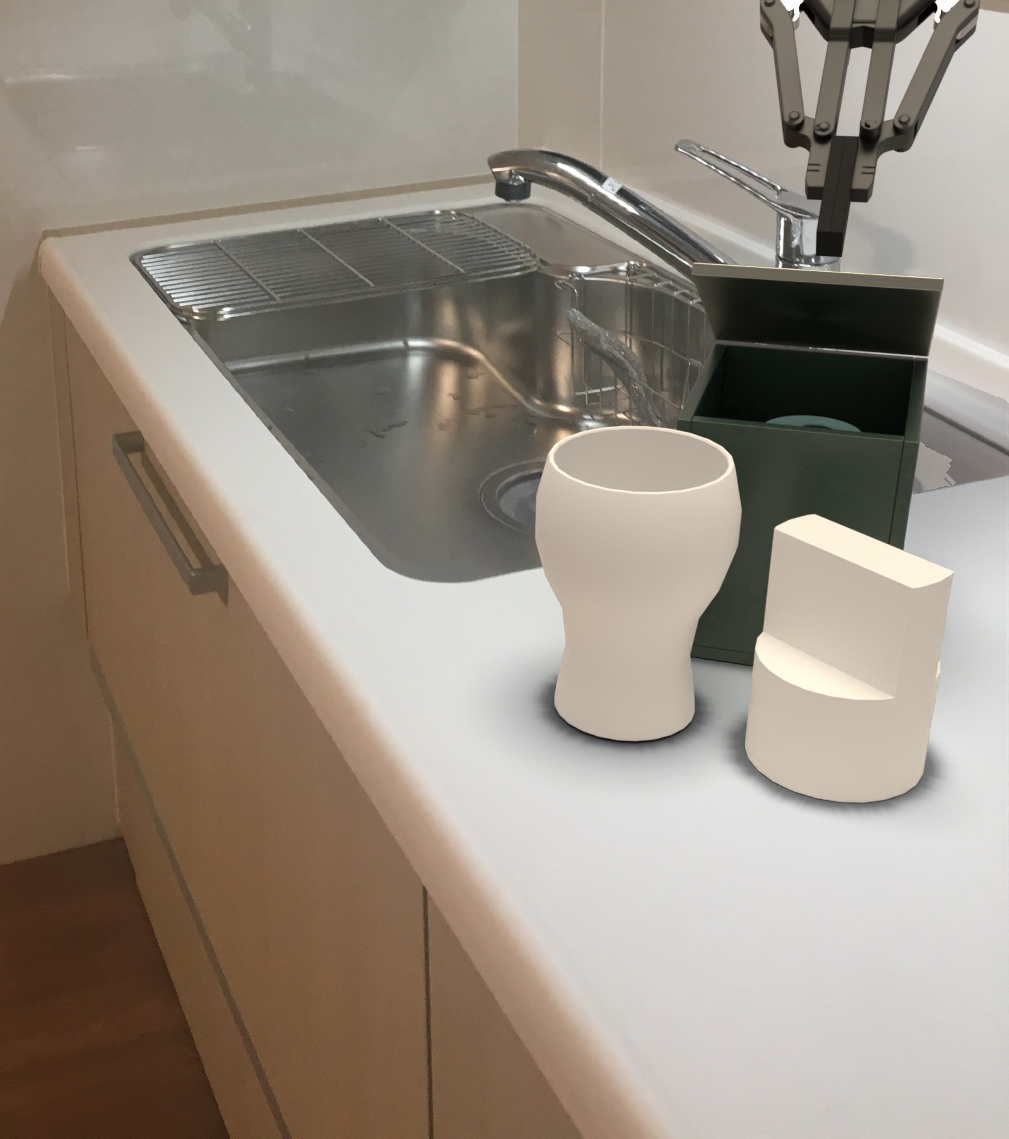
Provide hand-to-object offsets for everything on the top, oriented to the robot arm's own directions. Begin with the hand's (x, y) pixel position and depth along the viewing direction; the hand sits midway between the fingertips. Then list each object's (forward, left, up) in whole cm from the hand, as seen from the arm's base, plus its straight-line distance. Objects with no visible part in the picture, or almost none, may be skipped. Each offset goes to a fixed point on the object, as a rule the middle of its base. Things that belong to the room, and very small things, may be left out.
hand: (829, 244), depth 91 cm
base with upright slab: (-17, +11, -22) cm, 30 cm away
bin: (-3, +3, -22) cm, 23 cm away
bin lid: (-3, +3, -3) cm, 5 cm away
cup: (-8, +18, -22) cm, 30 cm away
